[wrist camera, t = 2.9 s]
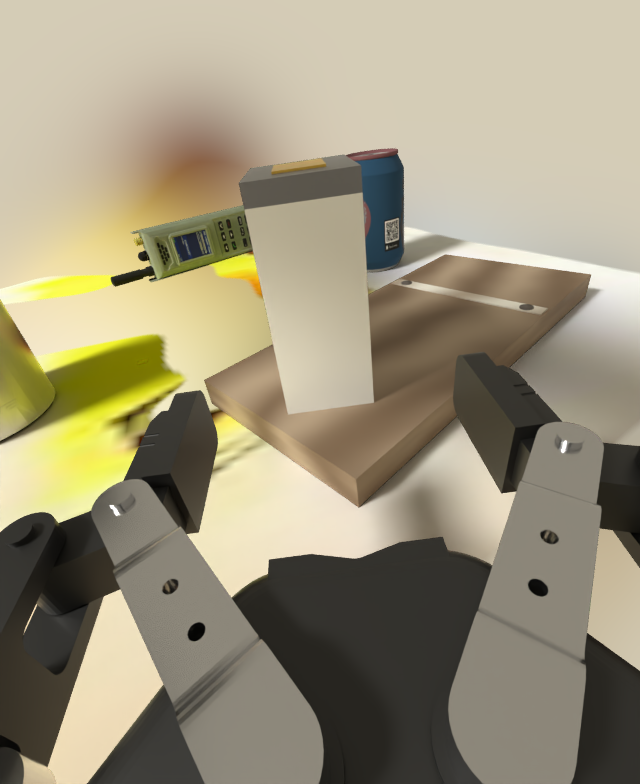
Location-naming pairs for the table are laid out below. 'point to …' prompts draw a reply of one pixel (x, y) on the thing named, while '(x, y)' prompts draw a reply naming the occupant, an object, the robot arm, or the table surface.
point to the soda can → (382, 207)
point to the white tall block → (313, 278)
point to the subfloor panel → (403, 367)
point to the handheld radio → (190, 244)
